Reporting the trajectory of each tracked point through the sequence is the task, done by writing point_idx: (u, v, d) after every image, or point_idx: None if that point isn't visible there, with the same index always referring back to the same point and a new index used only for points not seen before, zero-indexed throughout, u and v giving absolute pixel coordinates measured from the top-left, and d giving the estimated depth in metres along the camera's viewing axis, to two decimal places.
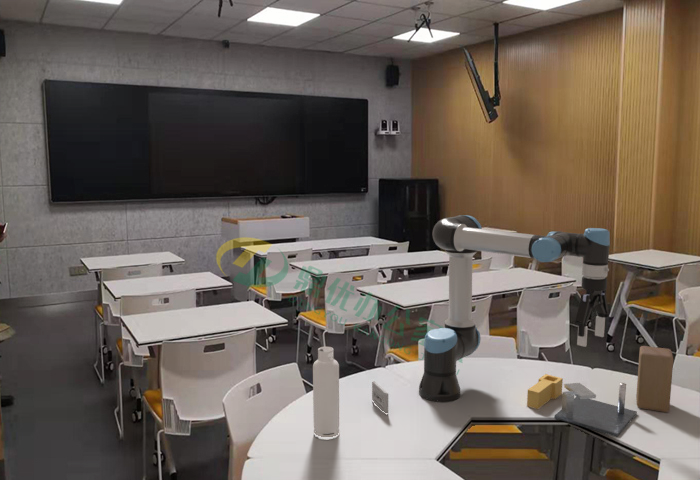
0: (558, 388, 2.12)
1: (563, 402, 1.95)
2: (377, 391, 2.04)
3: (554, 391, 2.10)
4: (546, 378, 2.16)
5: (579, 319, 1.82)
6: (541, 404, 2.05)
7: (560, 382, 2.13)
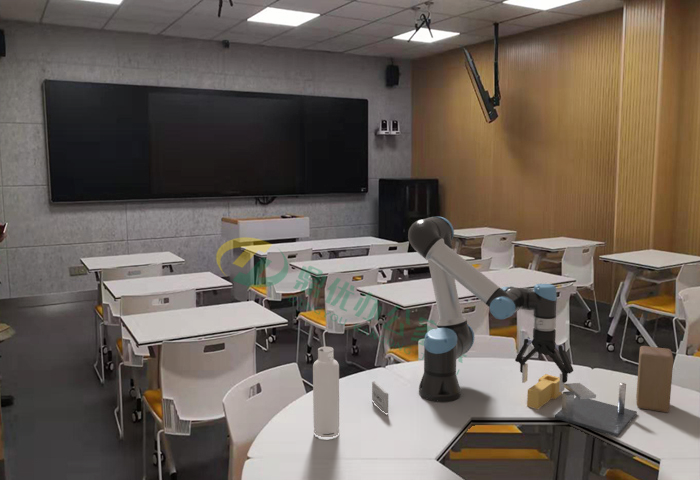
0: (558, 388, 2.12)
1: (563, 402, 1.95)
2: (377, 391, 2.04)
3: (554, 391, 2.10)
4: (546, 378, 2.16)
5: None
6: (541, 404, 2.05)
7: None
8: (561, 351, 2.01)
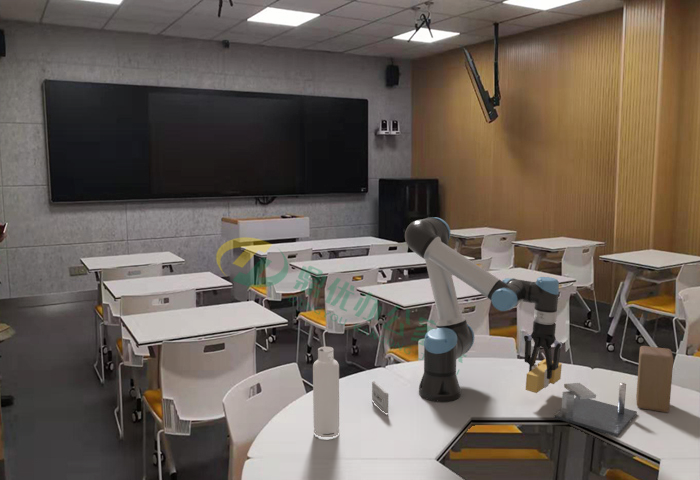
0: (557, 373, 2.12)
1: (563, 402, 1.95)
2: (377, 391, 2.04)
3: (553, 376, 2.10)
4: (545, 363, 2.16)
5: None
6: (540, 388, 2.04)
7: (559, 367, 2.13)
8: (557, 349, 2.02)
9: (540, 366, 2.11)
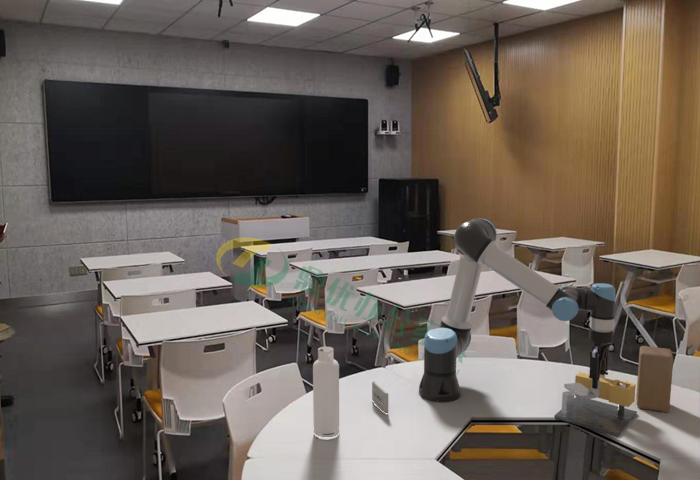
0: (617, 395, 1.95)
1: (563, 402, 1.95)
2: (377, 391, 2.04)
3: (609, 393, 1.97)
4: (627, 385, 1.97)
5: None
6: None
7: (623, 391, 1.93)
8: None
9: (607, 379, 2.01)
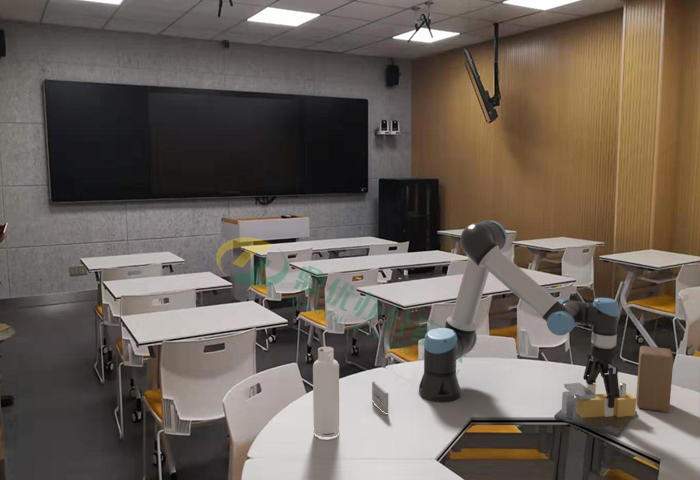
0: (625, 407, 1.94)
1: (563, 402, 1.95)
2: (377, 391, 2.04)
3: (617, 408, 1.94)
4: None
5: None
6: (590, 415, 1.94)
7: (630, 401, 1.94)
8: (610, 374, 1.88)
9: (605, 394, 1.97)
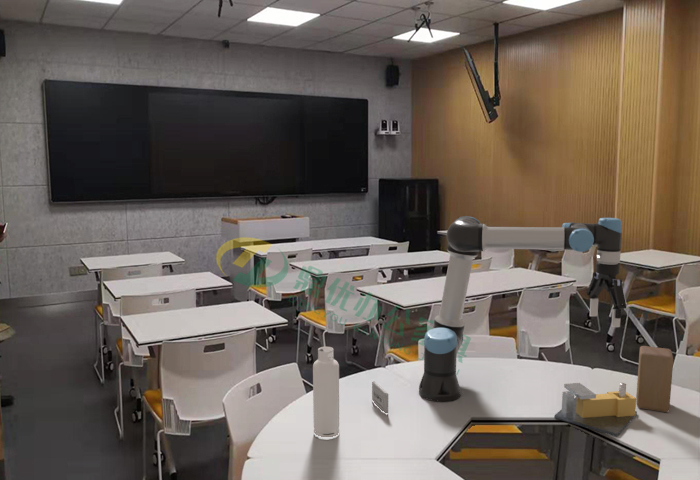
0: (625, 407, 1.94)
1: (563, 402, 1.95)
2: (377, 391, 2.04)
3: (617, 408, 1.94)
4: None
5: None
6: (590, 415, 1.94)
7: (630, 401, 1.94)
8: (615, 285, 1.98)
9: (605, 394, 1.97)
